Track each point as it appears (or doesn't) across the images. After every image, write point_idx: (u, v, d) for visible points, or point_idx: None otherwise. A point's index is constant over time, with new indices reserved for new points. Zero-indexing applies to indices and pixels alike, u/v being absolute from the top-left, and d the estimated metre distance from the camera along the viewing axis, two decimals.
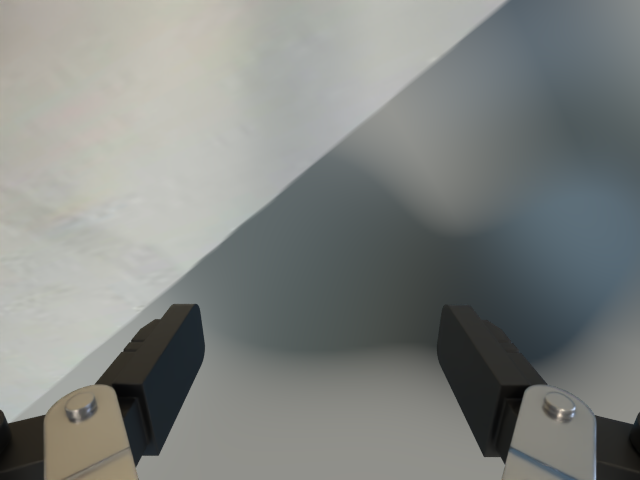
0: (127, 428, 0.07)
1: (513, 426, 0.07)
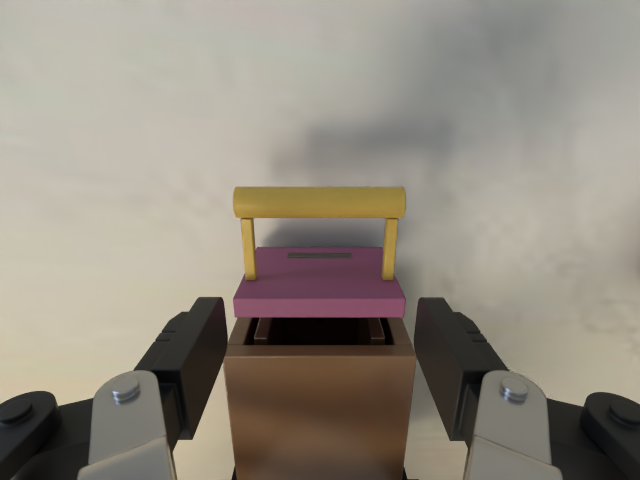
0: (167, 411, 0.08)
1: (474, 410, 0.08)
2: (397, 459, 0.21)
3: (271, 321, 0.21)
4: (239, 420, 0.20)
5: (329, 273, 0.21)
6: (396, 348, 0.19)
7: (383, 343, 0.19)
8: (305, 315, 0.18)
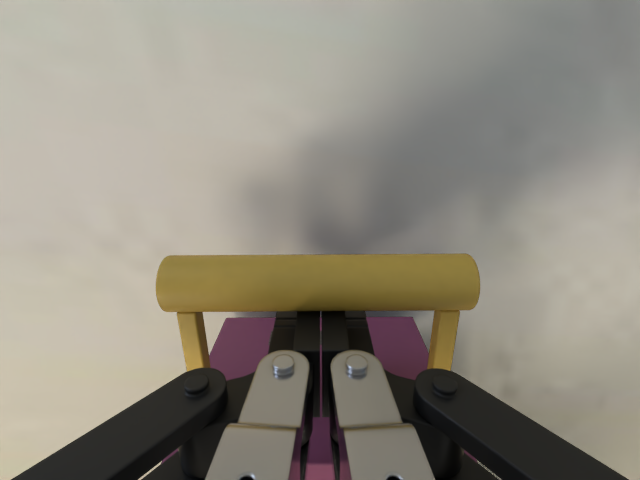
0: (312, 388, 0.08)
1: None
2: None
3: None
4: None
5: None
6: None
7: None
8: None
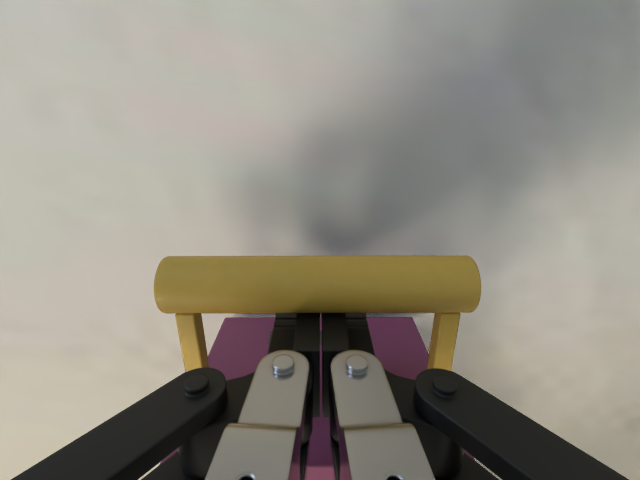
0: (312, 388, 0.08)
1: None
2: None
3: None
4: None
5: None
6: None
7: None
8: None
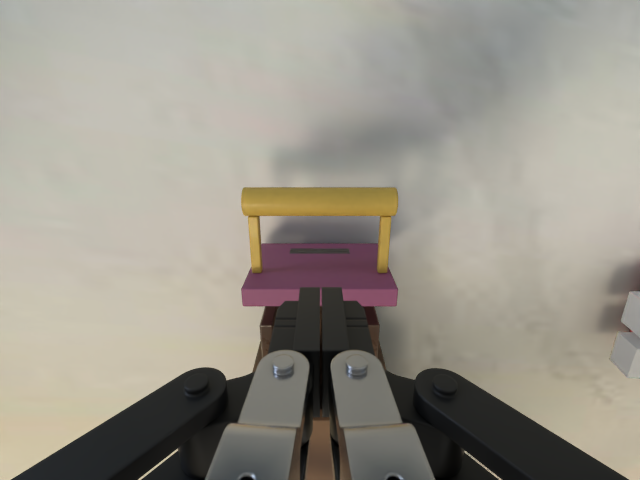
0: (312, 389, 0.08)
1: None
2: None
3: (275, 311, 0.23)
4: None
5: (328, 266, 0.23)
6: None
7: (378, 330, 0.21)
8: None
